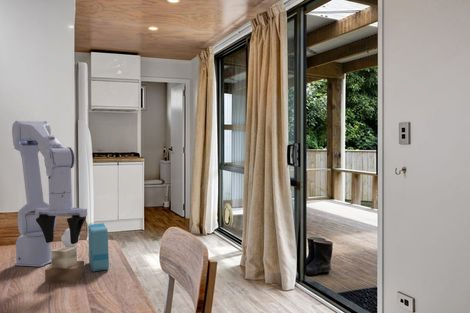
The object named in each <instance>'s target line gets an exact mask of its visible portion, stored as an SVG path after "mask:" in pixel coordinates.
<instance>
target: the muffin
mask: <svg viewBox="0 0 470 313" xmlns="http://www.w3.org/2000/svg"><path fill="white" fill-rule="evenodd" d="M80 237H81V236H80V235H79V239H78V242H79V241H80ZM60 240H61V243H62V244H63V247H76V246H77V245H78V242H77V243H75V244H71V241H70V229H69V228H66V229H65V230H64V233H63V234H62V235H61V237H60ZM76 248H77V247H76Z"/></svg>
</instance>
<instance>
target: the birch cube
mask: <svg viewBox="0 0 470 313" xmlns="http://www.w3.org/2000/svg"><path fill="white" fill-rule="evenodd" d="M77 256H78V255H77V247H65V246H60V247H58V248H54V249H51V263H50V265H51V264H52V268H65V269H66V268H68V267H71V266H73V265H75V264H77V261H78V260H77V259H78V258H77Z"/></svg>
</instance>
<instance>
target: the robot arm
mask: <svg viewBox="0 0 470 313" xmlns="http://www.w3.org/2000/svg"><path fill="white" fill-rule="evenodd" d="M11 126H12V127H11V128H12V129H11V132H12V133H11V135H12V145H13V148H14V150H16V151H18V152H19V153H20V157H21V165H22V173H23V181H24V189H25V199H26V204H25V205H23V206H22V207H21V208H20V209H19V210H18V212H17V229H18V232H19V234H20V235H19V236H18V237H17V239H16V241H15V260H16V261H15V263H13V264H14V266H21V267H23V266H24V267H27V266H28V267H38V268H39V267H43V266H45V265H49V264H51V251H52V248H51V247H52V246H51V243H52V242H54V239H55V238H54V236H55V235H54V234H55V231H54V230H55V229H56V227H57V217H68V218H66V221H67V224H68V229H70V241H71V244H75V243H77V242H79V241H78V239H79V240H80V238H79V236H80V234H81V231H82V228H83V226H84V223H85V221H86V220H87V216H88V208H80V207H79V208H78V207H73V188H72V169H73V168H74V165H75V161H76V160H75V153H74V150H73V149H72V147H65V146H64V145H63V144H62V143H61V141H60V140H59V139H58V138H57V137H56V136H55V135H51V131H52V130H51V125H50V123H49V121H47V120H45V121H30V120H28V121H27V120H26V121H25V120H23V121H22V120H20V121H19V120H15V121H14V122H13V124H12V125H11ZM39 152H40V154H41V155H42V157H43V160H44V166H45V172H46V173H45V174H46V176H47V178H48V180H47V182H48V202H45V201H44V194H43V193H44V192H43V185H42V184H43V183H42V176H41V167H40V160H39ZM77 244H78V243H77Z"/></svg>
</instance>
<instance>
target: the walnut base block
mask: <svg viewBox="0 0 470 313" xmlns="http://www.w3.org/2000/svg"><path fill="white" fill-rule="evenodd" d="M44 272H45V273H44V278H45V282H44V283H45V285H49V284H50V285H51V284H67V283H68V284H69V283H72V284H73V283H74V284H75V283H78V282H79V281H80V279H81V278H82V277H83V276H84V275H85V261H84V260H77V264H75V265H73V266H71V267H68V268H66V269H65V268H52V264H51V263H50V265H48V266H47V268H45V269H44Z"/></svg>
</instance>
